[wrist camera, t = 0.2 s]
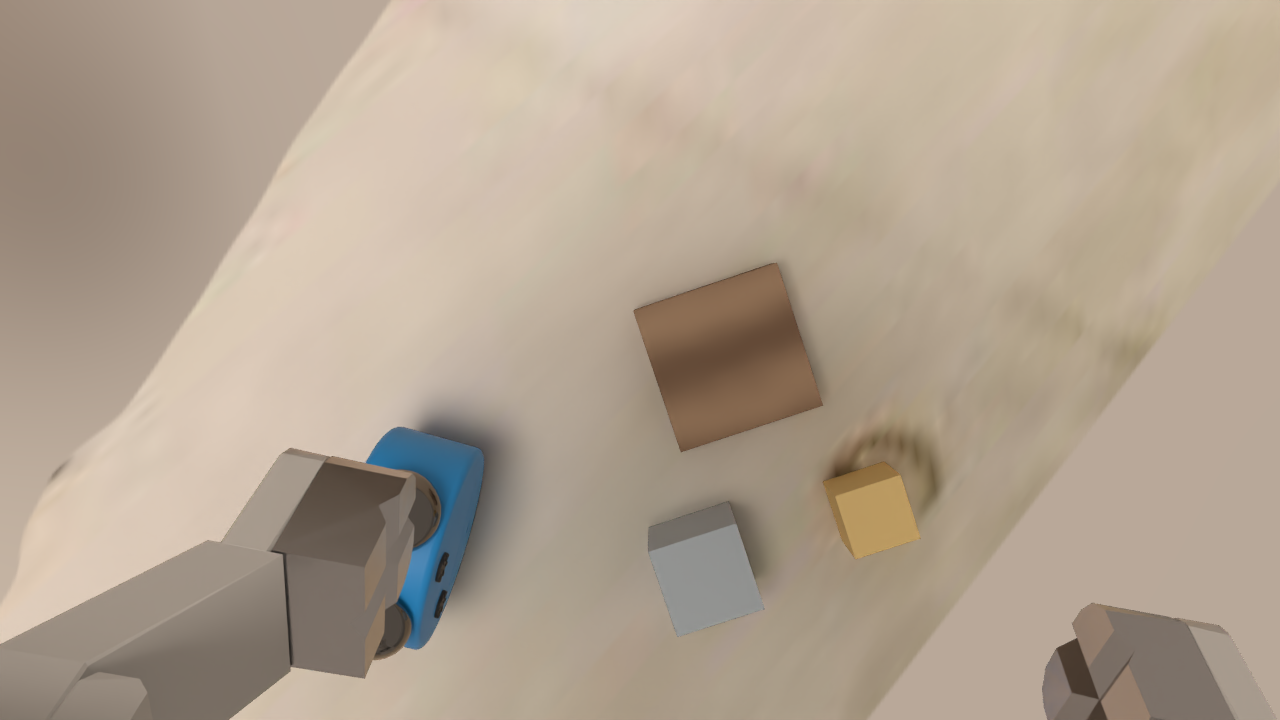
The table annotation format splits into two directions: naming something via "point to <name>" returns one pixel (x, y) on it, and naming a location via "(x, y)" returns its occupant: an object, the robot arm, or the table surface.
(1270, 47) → the table surface
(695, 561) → the slate cube
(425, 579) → the alarm clock
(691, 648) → the table surface
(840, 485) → the mustard cube
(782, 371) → the walnut base
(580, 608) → the table surface
